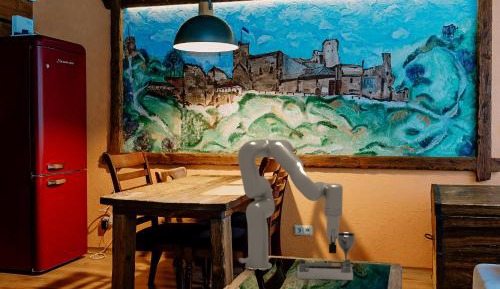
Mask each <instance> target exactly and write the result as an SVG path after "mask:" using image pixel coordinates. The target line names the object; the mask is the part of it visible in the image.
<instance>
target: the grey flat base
mask: <svg viewBox="0 0 500 289" xmlns="http://www.w3.org/2000/svg"><path fill="white" fill-rule="evenodd" d="M343 261H344V262H343V263H344V264H345V267H343V269H332V268H305V264H302V263H306V259H299V263H298V265H297V279H299V280H300V279H302V280H333V281H334V280H335V281H336V280H338V281H339V280H342V281H354V270H353V267H350V264H351V259H349V258H347V259H345V258H344V260H343Z"/></svg>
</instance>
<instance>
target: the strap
mask: <svg viewBox="0 0 500 289" xmlns="http://www.w3.org/2000/svg"><path fill="white" fill-rule="evenodd" d="M343 263H344V262H342V263H340V262H305V263H302V264H305V268H332V269H343Z"/></svg>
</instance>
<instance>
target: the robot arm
mask: <svg viewBox="0 0 500 289" xmlns="http://www.w3.org/2000/svg"><path fill="white" fill-rule="evenodd" d="M293 150H294V147H293V145H292V143H291V142H290V141H288V140H285V139H254V140H249V141H247V142H245V143H244V144H242V146H240V148H239V150H238V153H237V162H238V166H239V170H240V178H241V181H242V186H243V190H244V194H245V195H246V197H247V198H248V199H249V198H250V199H254V201H252V202H250V203H249V204H248V205H247V207H246V210H245V216H246V222H247V243H248V244H247V245H248V246H247V247H248V250H247V251H248V254H247V255H248V256H247V257H246V258H244V257H239V258H238V262H239V263H240V264H245V265H244V268H245V269H247V270H249V269H248V268H249V267H250V268H253V269H259V270H262V271H267V269H268V270H271V269H272V268H273V265H272V263H271V262H269V227H268V221H267V219H268V218H270V217H271V216H273V214H274V213H275V209H276V208H275V207H276V206H275V200H274V195H273V191H272V186H271V183H270V181H269V180H268V178H266V177H265V176H262V175H260V171H259V167H258V164H257V163H256V160H257V159H260V158H272V159H273V160H274V161H275V162H276V164H278V165H279V166H280V167H282V169H283V170H284V172H286V174H287V175H289V178H290V180H291V182H292V184H293V186H294V187H295V189H297V190H298V192H300V194H302V196H304V198H306V199H307V200H308V201H310V202H311V201H313V202H315V201H316V202H317V201H318V200H321V199H324V200H325V201H324V216H326V238H327V239H329V243H328V253H329V254H337V240H338V239H337V238H338V233H340V231H339V229H340V217H343V190H344V189H343V185H342V184H339V183H328V182H327V183H326V182H323V181H316V182H314V181H313V180H312V179H311V178H310V177H309V176H308V175H307V173H306V172H305V169H304V163H303V161H302V160H301V158H299V156H297V154H295V153H294V151H293Z"/></svg>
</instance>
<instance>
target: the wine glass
mask: <svg viewBox="0 0 500 289" xmlns="http://www.w3.org/2000/svg"><path fill="white" fill-rule="evenodd" d="M336 240H337V244H338V246H339V249H341V250H342V252H343V254H344V260H345V259H348V253H349V252H350V250H352V248H353V247H354V243H355V233H353V232H347V231H346V232H343V231H342V232H338V238H337V239H336ZM342 263H343V267H345V264H344V262H342ZM350 267H352V268H353V267H354V264H352V263H350Z"/></svg>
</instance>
